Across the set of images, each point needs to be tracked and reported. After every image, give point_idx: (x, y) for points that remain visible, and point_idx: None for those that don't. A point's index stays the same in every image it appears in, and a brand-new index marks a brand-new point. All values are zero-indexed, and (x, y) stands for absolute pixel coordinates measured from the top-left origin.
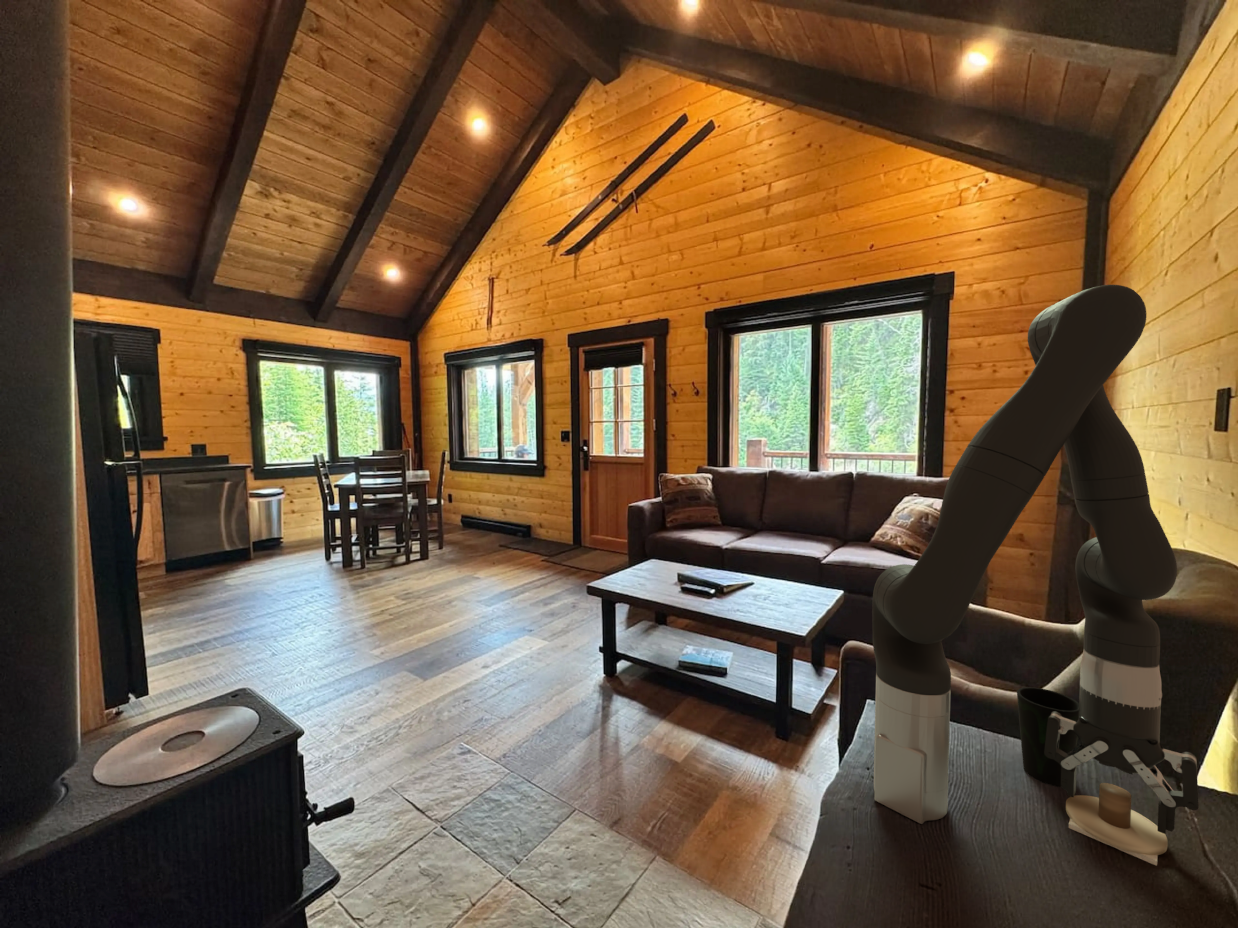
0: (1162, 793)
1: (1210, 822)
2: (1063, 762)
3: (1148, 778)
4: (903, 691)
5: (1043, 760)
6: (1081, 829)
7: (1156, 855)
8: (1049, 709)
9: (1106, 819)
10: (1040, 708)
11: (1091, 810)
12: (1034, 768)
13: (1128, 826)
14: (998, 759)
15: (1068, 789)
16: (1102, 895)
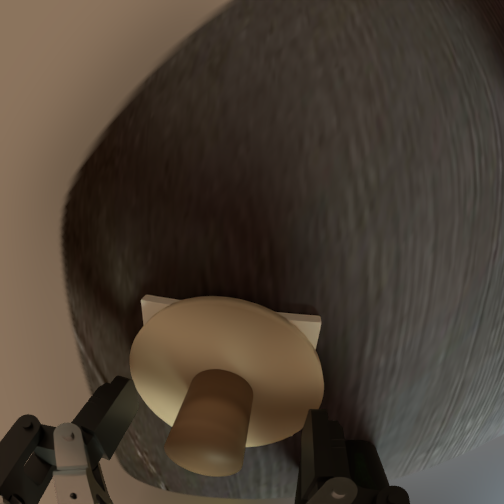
0: (69, 453)
1: (126, 452)
2: (349, 493)
3: (73, 491)
4: None
5: (358, 480)
6: (292, 319)
7: (144, 321)
8: None
9: (234, 379)
10: None
11: (267, 400)
12: (368, 458)
13: (192, 381)
14: (413, 446)
15: (324, 422)
16: (243, 57)
